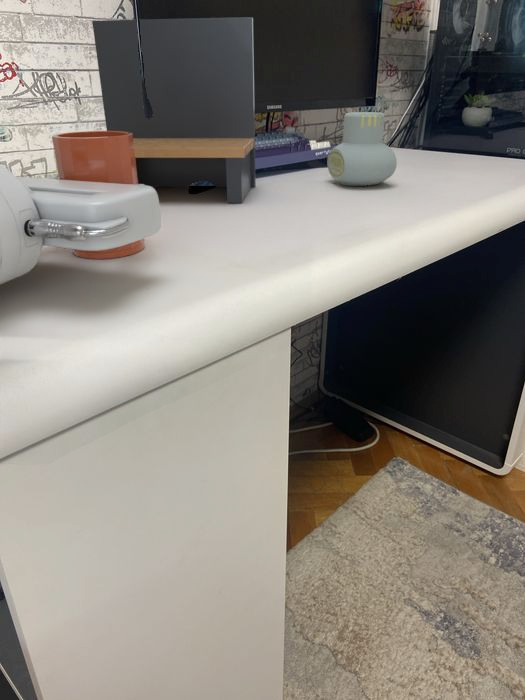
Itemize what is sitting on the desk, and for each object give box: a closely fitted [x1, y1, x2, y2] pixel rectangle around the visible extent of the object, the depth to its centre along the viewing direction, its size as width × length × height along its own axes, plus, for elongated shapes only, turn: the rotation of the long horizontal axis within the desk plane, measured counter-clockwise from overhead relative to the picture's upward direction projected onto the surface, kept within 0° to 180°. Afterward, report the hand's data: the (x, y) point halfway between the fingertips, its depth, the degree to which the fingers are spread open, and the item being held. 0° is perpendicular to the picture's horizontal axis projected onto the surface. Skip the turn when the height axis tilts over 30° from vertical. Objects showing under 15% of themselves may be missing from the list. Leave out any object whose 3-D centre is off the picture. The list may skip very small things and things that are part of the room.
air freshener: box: [326, 111, 398, 187], centre depth 81 cm, size 11×8×10 cm
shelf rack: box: [92, 16, 257, 204], centre depth 72 cm, size 22×13×22 cm, turn 85°
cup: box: [51, 130, 146, 260], centre depth 50 cm, size 7×7×10 cm
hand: (97, 189), depth 50 cm, fingers open, 8 cm apart
